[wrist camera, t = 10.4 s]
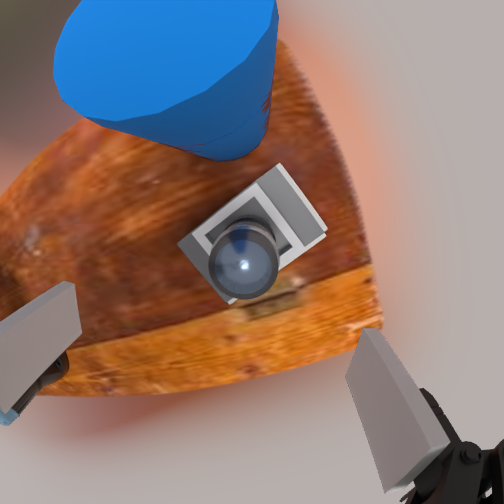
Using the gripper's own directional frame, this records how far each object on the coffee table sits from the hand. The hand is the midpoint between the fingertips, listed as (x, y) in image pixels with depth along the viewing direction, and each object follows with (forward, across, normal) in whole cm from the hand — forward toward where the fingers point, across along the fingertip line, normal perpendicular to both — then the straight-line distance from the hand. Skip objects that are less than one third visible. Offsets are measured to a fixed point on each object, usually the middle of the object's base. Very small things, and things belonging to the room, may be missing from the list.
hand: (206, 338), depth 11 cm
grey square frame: (+25, +1, 0) cm, 25 cm away
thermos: (+25, -4, +14) cm, 29 cm away
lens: (+20, +1, 0) cm, 20 cm away
